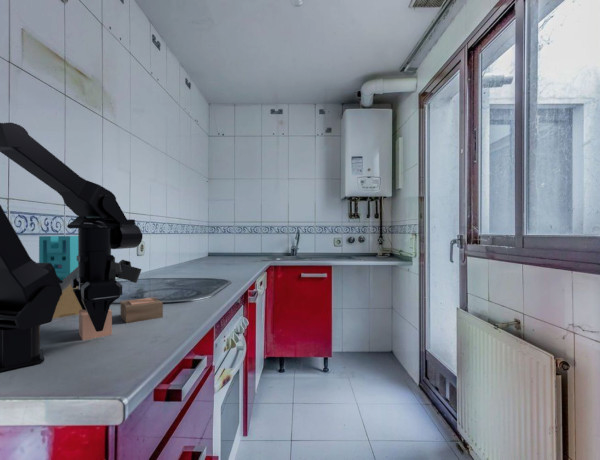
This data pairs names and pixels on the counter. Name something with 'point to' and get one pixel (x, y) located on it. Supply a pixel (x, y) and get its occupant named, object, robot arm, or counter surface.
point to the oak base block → (141, 309)
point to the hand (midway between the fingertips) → (95, 325)
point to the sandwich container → (67, 299)
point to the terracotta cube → (88, 329)
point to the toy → (59, 253)
